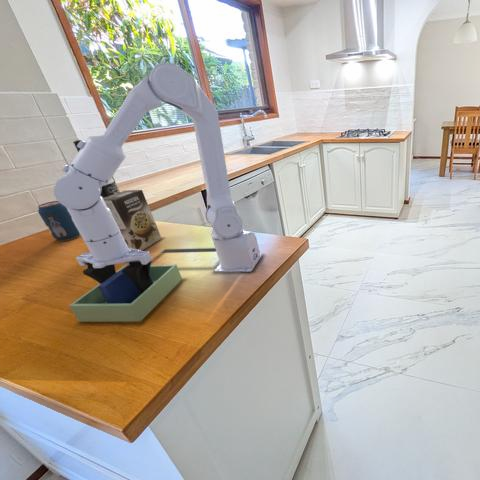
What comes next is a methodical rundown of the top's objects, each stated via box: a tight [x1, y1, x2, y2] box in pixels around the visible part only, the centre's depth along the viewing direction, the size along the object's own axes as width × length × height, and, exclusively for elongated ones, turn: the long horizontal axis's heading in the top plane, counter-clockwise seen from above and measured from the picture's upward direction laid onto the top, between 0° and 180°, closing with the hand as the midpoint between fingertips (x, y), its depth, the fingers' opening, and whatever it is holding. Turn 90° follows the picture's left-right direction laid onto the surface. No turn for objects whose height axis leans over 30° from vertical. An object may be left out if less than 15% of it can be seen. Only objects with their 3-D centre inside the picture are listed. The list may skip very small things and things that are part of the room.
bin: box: [68, 264, 183, 323], centre depth 63 cm, size 13×14×4 cm
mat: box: [160, 247, 217, 254], centre depth 78 cm, size 20×10×1 cm, turn 86°
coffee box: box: [103, 189, 163, 251], centre depth 84 cm, size 9×6×16 cm
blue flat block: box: [98, 263, 153, 304], centre depth 62 cm, size 2×10×7 cm, turn 176°
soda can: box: [37, 200, 81, 242], centre depth 95 cm, size 7×7×12 cm
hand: (131, 291), depth 62 cm, fingers open, 6 cm apart
